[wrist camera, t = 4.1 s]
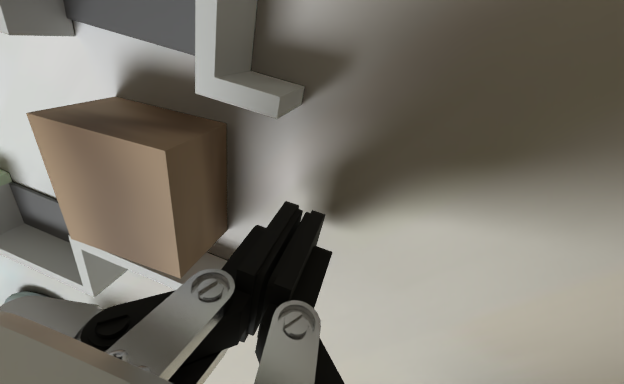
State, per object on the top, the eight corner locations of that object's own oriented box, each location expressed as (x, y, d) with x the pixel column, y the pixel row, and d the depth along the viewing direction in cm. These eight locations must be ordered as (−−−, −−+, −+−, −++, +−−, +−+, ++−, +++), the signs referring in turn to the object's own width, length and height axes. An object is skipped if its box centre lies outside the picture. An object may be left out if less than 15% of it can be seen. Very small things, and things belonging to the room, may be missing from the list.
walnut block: (229, 122, 13) (165, 151, 9) (229, 228, 16) (180, 278, 12) (118, 96, 14) (26, 112, 11) (138, 199, 17) (71, 238, 14)
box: (331, -53, 9) (293, -102, 6) (257, 327, 19) (229, 380, 16) (-258, -179, 13) (-459, -246, 10) (-59, 190, 23) (-129, 212, 20)
